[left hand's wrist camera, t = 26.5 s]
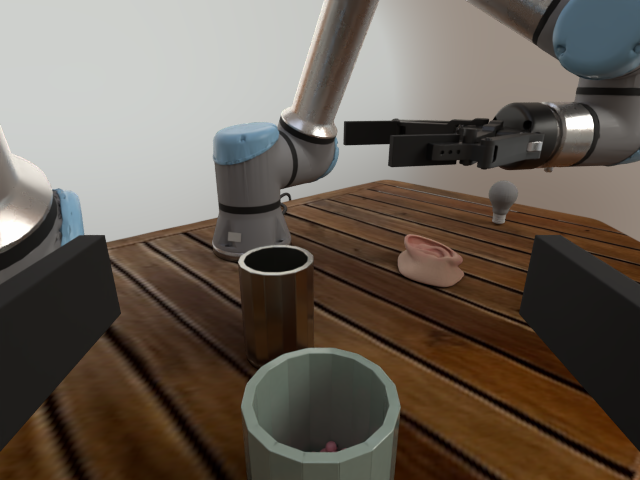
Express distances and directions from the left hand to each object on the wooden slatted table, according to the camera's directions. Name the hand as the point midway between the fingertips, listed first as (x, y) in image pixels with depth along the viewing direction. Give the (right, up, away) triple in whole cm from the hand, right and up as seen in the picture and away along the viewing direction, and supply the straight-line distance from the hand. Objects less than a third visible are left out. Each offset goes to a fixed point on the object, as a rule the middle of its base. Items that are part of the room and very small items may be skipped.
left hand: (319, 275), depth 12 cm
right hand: (+5, +11, +29) cm, 32 cm away
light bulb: (+41, +5, +80) cm, 90 cm away
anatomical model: (+19, -4, +57) cm, 61 cm away
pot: (0, -19, +18) cm, 26 cm away
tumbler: (-5, -12, +36) cm, 38 cm away
